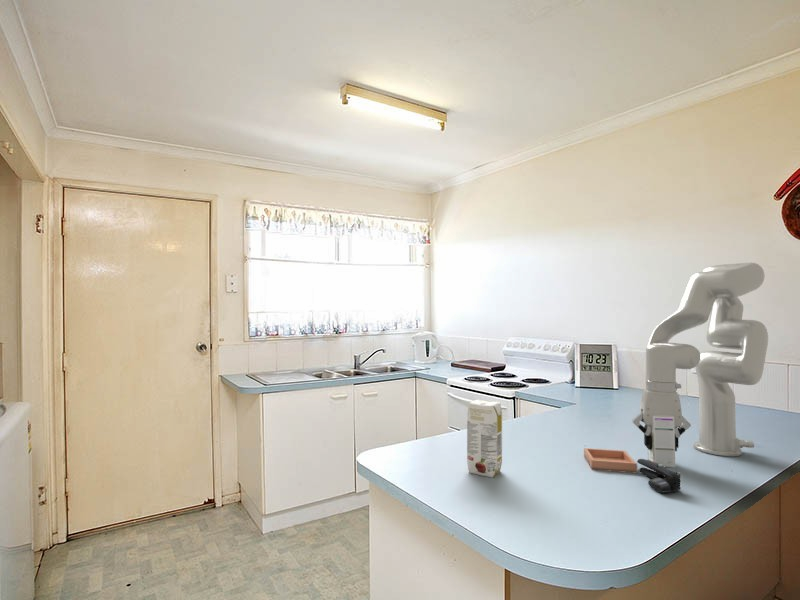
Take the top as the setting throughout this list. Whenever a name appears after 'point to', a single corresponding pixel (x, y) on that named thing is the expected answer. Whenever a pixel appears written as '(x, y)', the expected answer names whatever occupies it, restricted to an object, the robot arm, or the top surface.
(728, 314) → the robot arm
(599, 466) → the tray
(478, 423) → the juice carton
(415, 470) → the top surface
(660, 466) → the can opener
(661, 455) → the syrup box
